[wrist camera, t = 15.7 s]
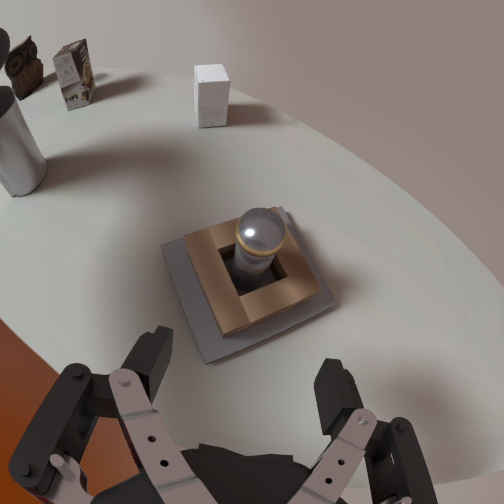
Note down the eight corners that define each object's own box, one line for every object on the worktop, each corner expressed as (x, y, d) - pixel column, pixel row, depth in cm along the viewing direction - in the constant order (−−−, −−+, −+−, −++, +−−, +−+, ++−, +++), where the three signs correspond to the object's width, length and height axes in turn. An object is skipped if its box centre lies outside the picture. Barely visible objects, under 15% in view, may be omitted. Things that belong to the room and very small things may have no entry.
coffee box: (89, 104, 49) (76, 49, 34) (67, 111, 47) (51, 58, 33) (96, 87, 52) (86, 37, 38) (75, 93, 51) (63, 45, 36)
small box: (226, 126, 48) (231, 81, 39) (197, 128, 47) (197, 82, 38) (220, 104, 51) (223, 63, 42) (194, 107, 50) (194, 64, 41)
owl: (47, 76, 56) (35, 31, 39) (43, 89, 52) (29, 39, 34) (18, 91, 52) (3, 49, 35) (12, 107, 48) (-6, 60, 30)
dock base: (206, 364, 30) (205, 363, 29) (162, 250, 36) (160, 245, 34) (331, 306, 35) (336, 303, 34) (279, 211, 41) (281, 206, 39)
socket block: (222, 338, 30) (223, 333, 27) (186, 250, 34) (184, 235, 31) (310, 299, 34) (322, 290, 30) (269, 222, 38) (275, 206, 34)
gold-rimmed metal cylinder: (238, 298, 33) (249, 257, 22) (223, 267, 34) (228, 214, 23) (270, 285, 34) (296, 240, 23) (255, 255, 35) (273, 200, 25)
